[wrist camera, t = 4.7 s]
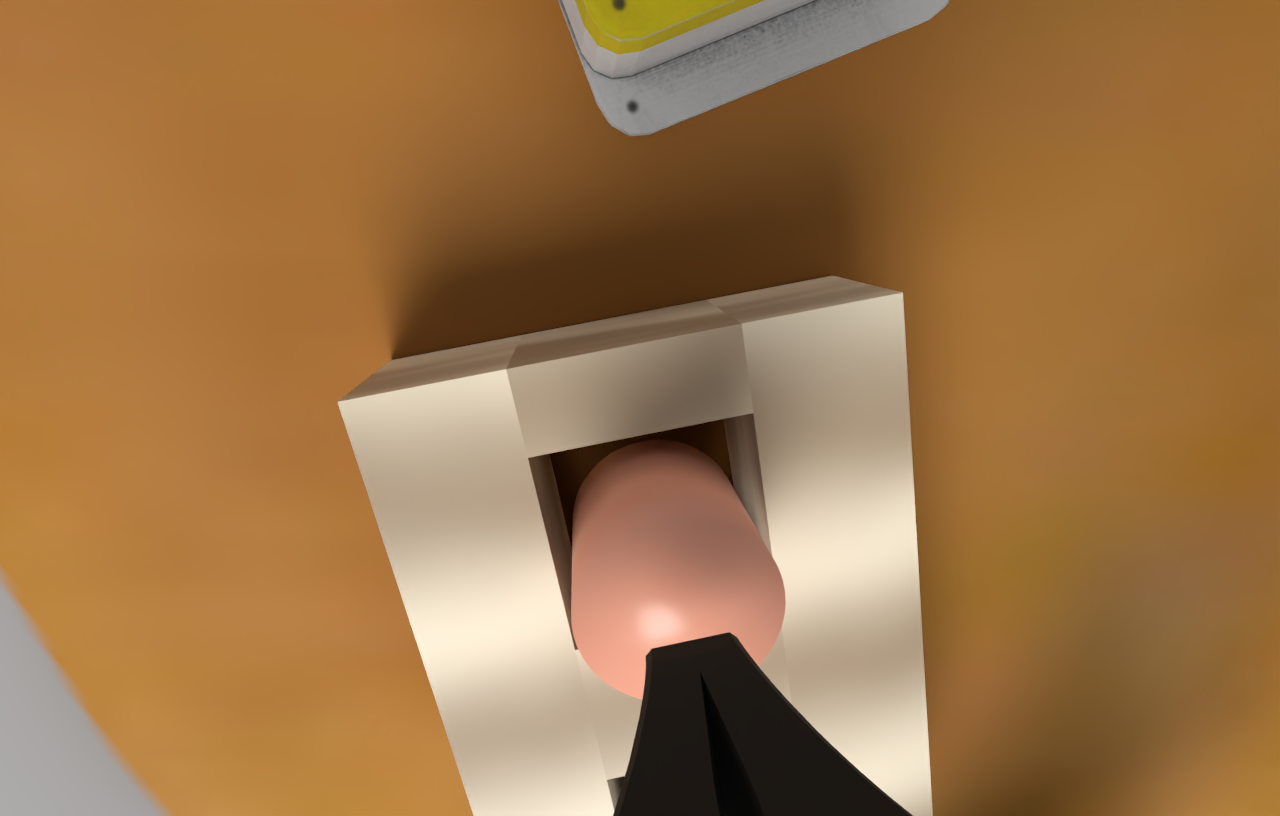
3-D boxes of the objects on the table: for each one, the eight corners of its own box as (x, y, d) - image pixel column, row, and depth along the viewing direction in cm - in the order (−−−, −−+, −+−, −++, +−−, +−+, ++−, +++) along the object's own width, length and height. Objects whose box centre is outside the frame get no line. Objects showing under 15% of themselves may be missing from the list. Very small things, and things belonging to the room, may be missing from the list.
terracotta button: (745, 571, 17) (796, 679, 13) (590, 604, 16) (594, 721, 13) (724, 425, 15) (772, 493, 12) (556, 458, 15) (550, 539, 11)
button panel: (877, 788, 23) (937, 902, 19) (540, 863, 23) (532, 995, 19) (832, 275, 18) (902, 292, 14) (390, 360, 17) (337, 401, 13)
